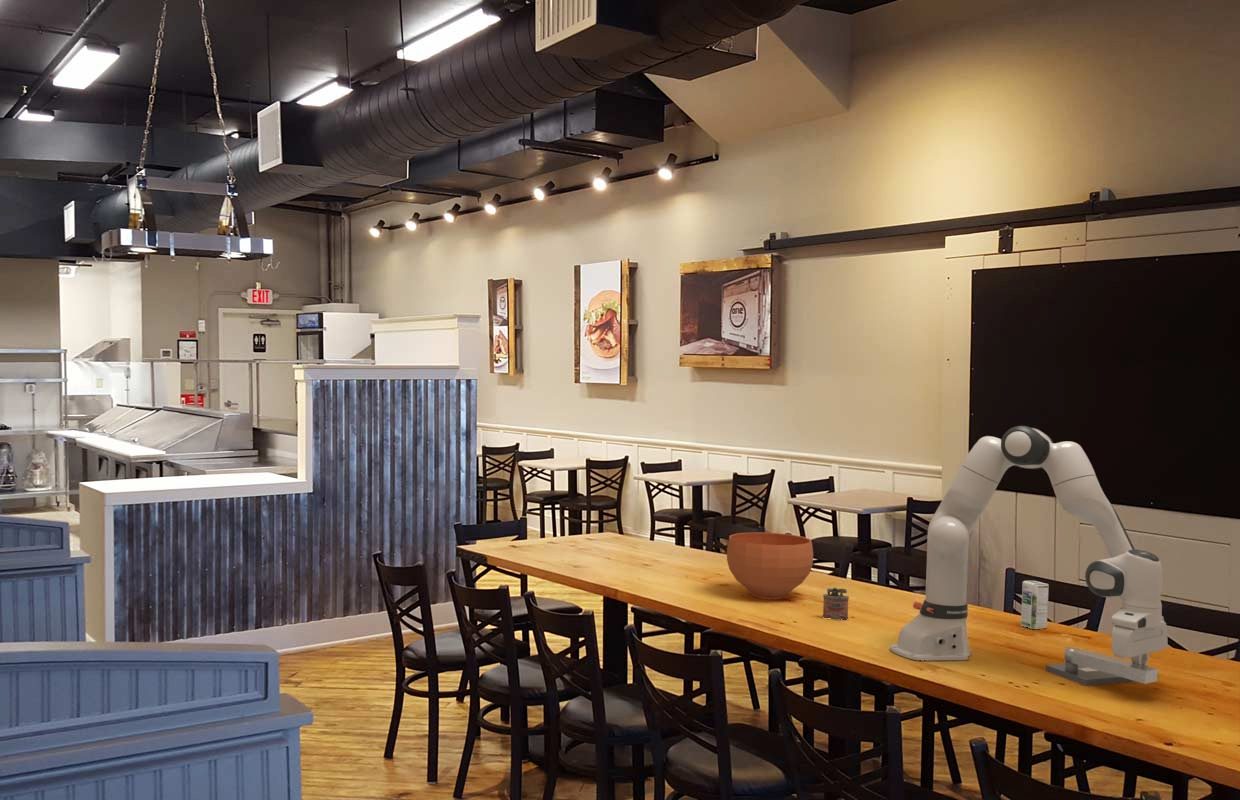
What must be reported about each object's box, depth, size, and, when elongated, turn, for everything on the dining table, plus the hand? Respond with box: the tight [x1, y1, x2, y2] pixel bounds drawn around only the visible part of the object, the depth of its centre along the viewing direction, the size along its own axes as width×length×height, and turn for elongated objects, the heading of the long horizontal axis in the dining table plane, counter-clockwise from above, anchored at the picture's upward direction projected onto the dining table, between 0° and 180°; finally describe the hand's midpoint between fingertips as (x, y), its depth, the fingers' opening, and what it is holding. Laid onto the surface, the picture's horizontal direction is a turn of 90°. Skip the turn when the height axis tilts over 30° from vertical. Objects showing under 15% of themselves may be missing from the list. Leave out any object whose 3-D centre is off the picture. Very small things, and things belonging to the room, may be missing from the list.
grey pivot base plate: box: [1045, 660, 1159, 687], centre depth 266 cm, size 24×14×4 cm, turn 110°
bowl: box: [726, 531, 814, 600], centre depth 355 cm, size 30×30×20 cm
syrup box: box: [1020, 580, 1050, 630], centre depth 318 cm, size 6×6×14 cm
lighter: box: [822, 586, 850, 621], centre depth 323 cm, size 8×3×10 cm, turn 76°
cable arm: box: [1064, 646, 1159, 685], centre depth 254 cm, size 23×5×3 cm, turn 31°
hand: (1139, 671), depth 251 cm, fingers closed
